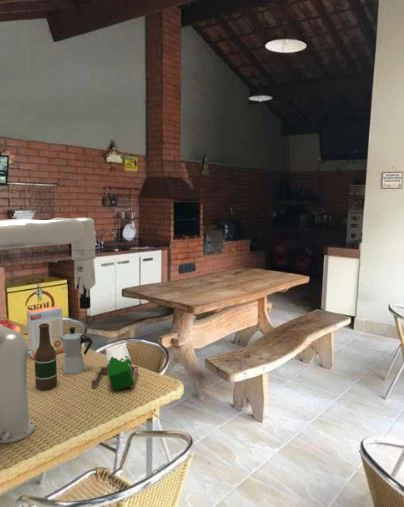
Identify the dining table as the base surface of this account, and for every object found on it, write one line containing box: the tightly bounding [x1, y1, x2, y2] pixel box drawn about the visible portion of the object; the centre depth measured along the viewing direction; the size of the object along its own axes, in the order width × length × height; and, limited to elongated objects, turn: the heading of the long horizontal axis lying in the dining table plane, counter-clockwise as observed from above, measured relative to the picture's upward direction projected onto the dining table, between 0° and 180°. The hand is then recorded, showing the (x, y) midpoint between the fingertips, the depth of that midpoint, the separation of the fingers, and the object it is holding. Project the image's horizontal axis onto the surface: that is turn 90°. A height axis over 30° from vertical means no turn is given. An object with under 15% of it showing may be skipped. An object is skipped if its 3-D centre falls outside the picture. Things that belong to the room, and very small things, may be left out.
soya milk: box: [105, 342, 133, 392], centre depth 164 cm, size 9×9×20 cm
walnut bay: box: [91, 365, 139, 389], centre depth 164 cm, size 13×15×3 cm
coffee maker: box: [58, 326, 94, 375], centre depth 173 cm, size 15×9×18 cm, turn 80°
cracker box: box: [26, 305, 64, 360], centre depth 190 cm, size 14×6×21 cm, turn 130°
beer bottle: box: [34, 323, 58, 392], centre depth 157 cm, size 8×8×24 cm
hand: (85, 308), depth 144 cm, fingers closed
